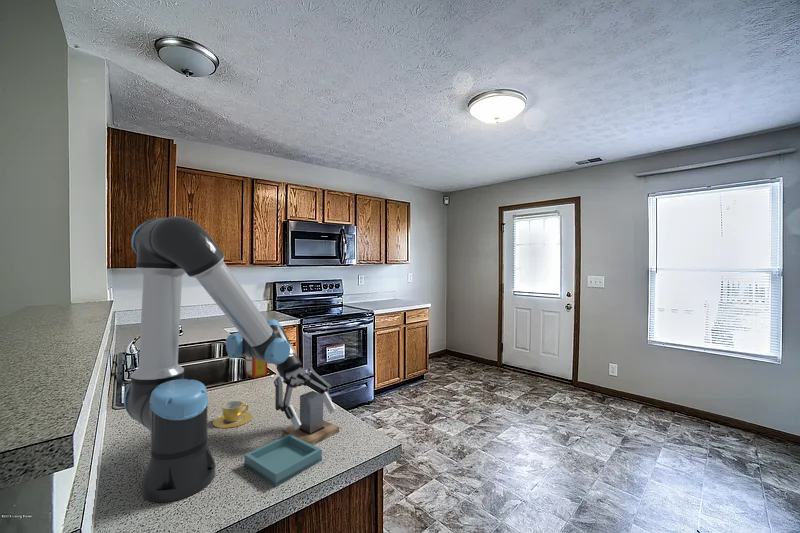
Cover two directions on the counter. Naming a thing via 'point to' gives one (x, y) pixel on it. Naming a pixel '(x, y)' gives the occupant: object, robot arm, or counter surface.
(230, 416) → the cup
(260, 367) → the baking soda box
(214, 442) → the counter surface
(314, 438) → the socket plate
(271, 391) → the counter surface
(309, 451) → the tray
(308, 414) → the grey rectangular block
